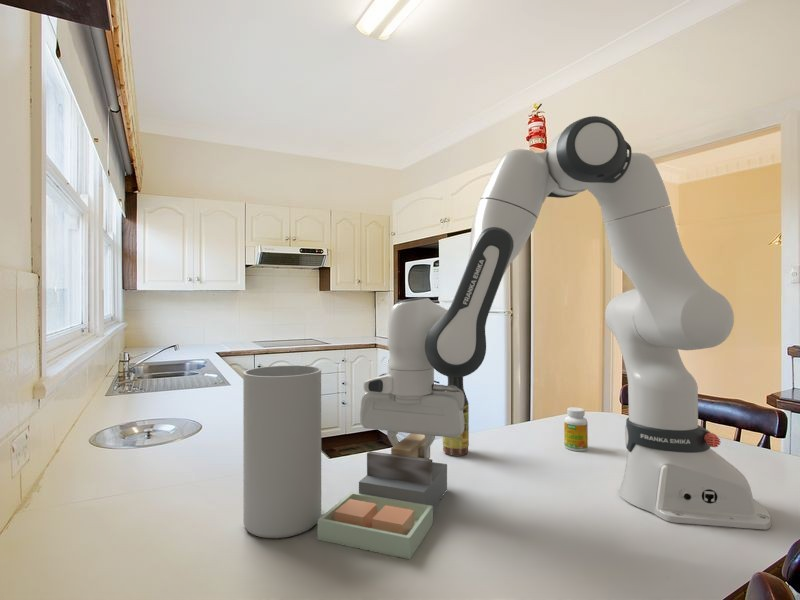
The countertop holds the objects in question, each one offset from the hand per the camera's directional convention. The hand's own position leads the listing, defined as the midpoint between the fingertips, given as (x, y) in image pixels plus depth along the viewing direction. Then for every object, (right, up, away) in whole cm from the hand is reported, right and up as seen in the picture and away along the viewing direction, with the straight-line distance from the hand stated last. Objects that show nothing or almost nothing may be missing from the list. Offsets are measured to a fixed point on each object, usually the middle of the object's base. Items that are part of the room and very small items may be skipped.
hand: (411, 455), depth 87 cm
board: (-1, -7, -3) cm, 8 cm away
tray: (-6, -7, -14) cm, 17 cm away
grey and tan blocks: (0, -2, 0) cm, 2 cm away
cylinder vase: (-22, -7, -11) cm, 25 cm away
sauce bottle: (+11, -8, +23) cm, 27 cm away
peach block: (-3, -4, -16) cm, 17 cm away
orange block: (-9, -4, -14) cm, 17 cm away
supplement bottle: (+42, -7, +27) cm, 50 cm away
